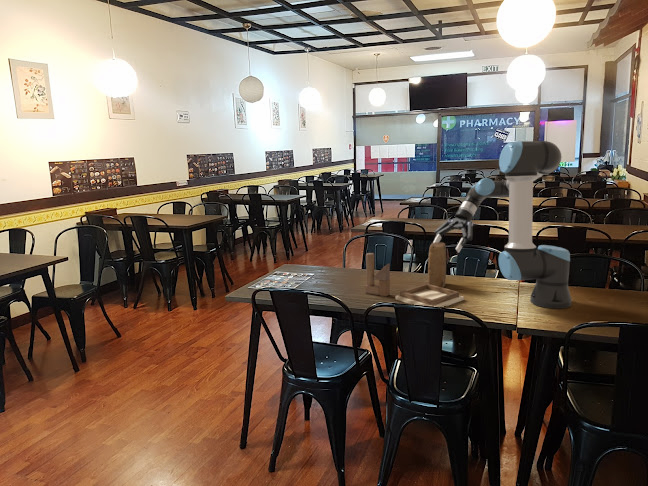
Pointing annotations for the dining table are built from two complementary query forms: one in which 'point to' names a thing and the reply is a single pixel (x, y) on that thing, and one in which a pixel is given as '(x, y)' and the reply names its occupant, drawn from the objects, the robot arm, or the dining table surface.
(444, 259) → the block
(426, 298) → the pocket board
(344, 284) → the dining table surface
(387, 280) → the wooden block
